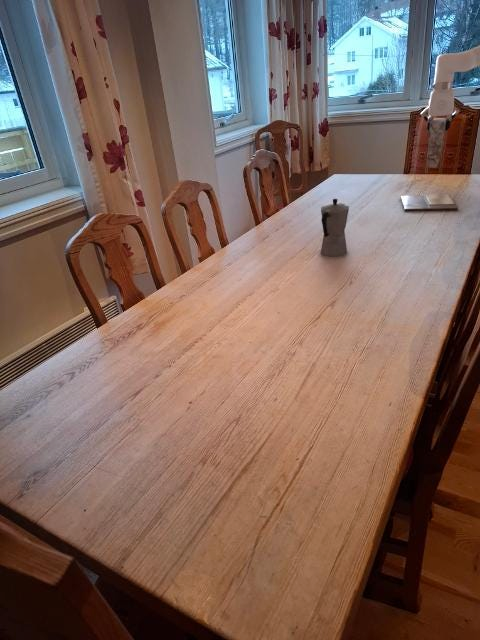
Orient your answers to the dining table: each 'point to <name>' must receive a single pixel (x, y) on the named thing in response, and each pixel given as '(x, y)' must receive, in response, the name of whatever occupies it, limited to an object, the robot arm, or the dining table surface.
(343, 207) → the coffeepot
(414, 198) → the board
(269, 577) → the dining table surface
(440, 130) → the stone block
